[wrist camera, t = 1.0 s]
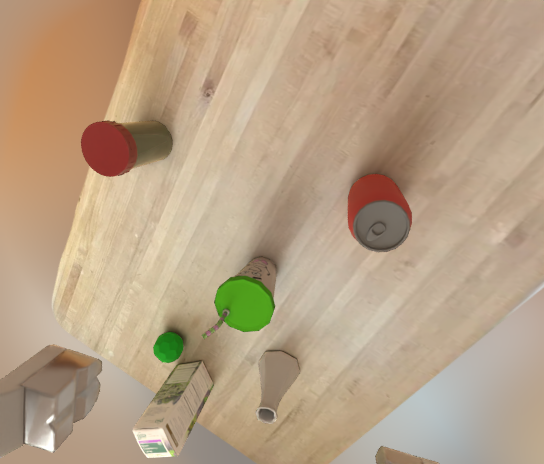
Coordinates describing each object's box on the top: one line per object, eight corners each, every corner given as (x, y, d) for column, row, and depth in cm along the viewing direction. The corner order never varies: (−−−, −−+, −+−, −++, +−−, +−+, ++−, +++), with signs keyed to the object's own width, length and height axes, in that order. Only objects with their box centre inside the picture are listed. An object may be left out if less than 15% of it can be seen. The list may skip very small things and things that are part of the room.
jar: (147, 112, 48) (97, 113, 38) (179, 137, 48) (137, 144, 39) (130, 144, 50) (79, 153, 40) (161, 168, 50) (117, 183, 41)
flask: (296, 388, 59) (287, 439, 50) (256, 377, 60) (240, 426, 51) (303, 355, 56) (294, 403, 47) (261, 344, 58) (244, 390, 48)
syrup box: (188, 388, 65) (146, 461, 51) (176, 362, 63) (129, 431, 50) (214, 384, 63) (178, 459, 50) (202, 358, 61) (162, 428, 48)
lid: (102, 109, 39) (92, 109, 38) (146, 143, 40) (138, 144, 38) (83, 153, 42) (72, 154, 40) (124, 184, 42) (116, 187, 40)
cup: (289, 250, 50) (267, 305, 37) (285, 296, 53) (263, 362, 40) (238, 243, 52) (199, 293, 38) (237, 288, 55) (199, 349, 41)
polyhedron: (180, 324, 60) (166, 341, 55) (192, 346, 61) (180, 365, 57) (157, 330, 61) (142, 347, 57) (170, 352, 62) (156, 370, 58)
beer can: (337, 200, 46) (334, 230, 35) (371, 162, 44) (378, 181, 33) (375, 230, 47) (383, 269, 36) (410, 194, 44) (431, 223, 33)
